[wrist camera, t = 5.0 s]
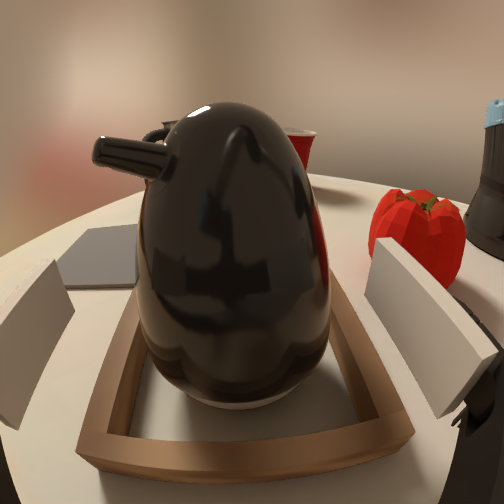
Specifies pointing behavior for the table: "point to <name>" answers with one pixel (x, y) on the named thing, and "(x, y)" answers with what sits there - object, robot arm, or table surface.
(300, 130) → the plastic cup
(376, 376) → the walnut collar
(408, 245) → the tomato
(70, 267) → the rubber mat
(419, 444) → the table surface
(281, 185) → the pump dispenser
